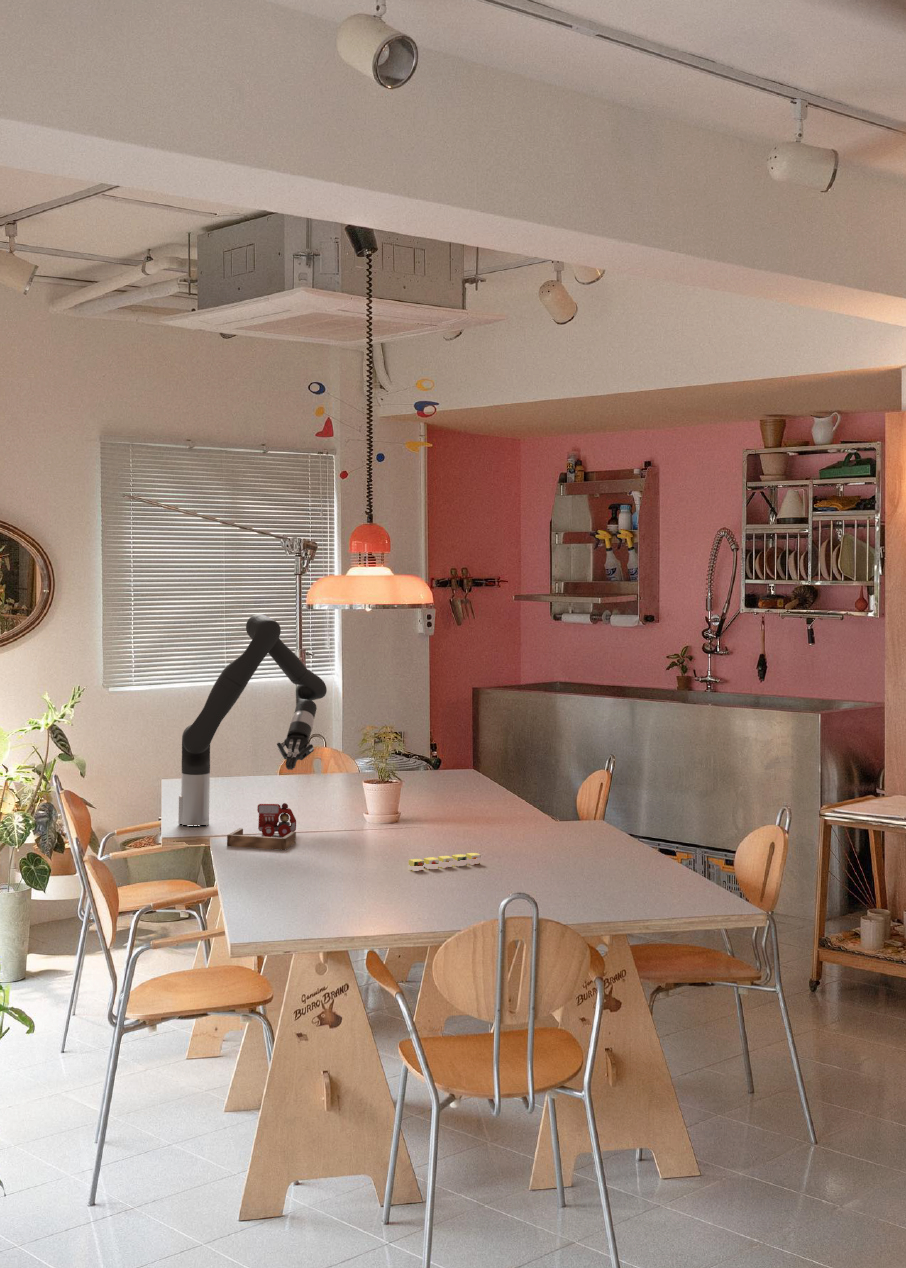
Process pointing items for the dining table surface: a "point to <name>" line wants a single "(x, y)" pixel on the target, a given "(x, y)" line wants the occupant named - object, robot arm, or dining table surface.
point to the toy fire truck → (275, 819)
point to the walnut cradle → (260, 841)
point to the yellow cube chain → (443, 859)
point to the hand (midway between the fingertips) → (289, 768)
